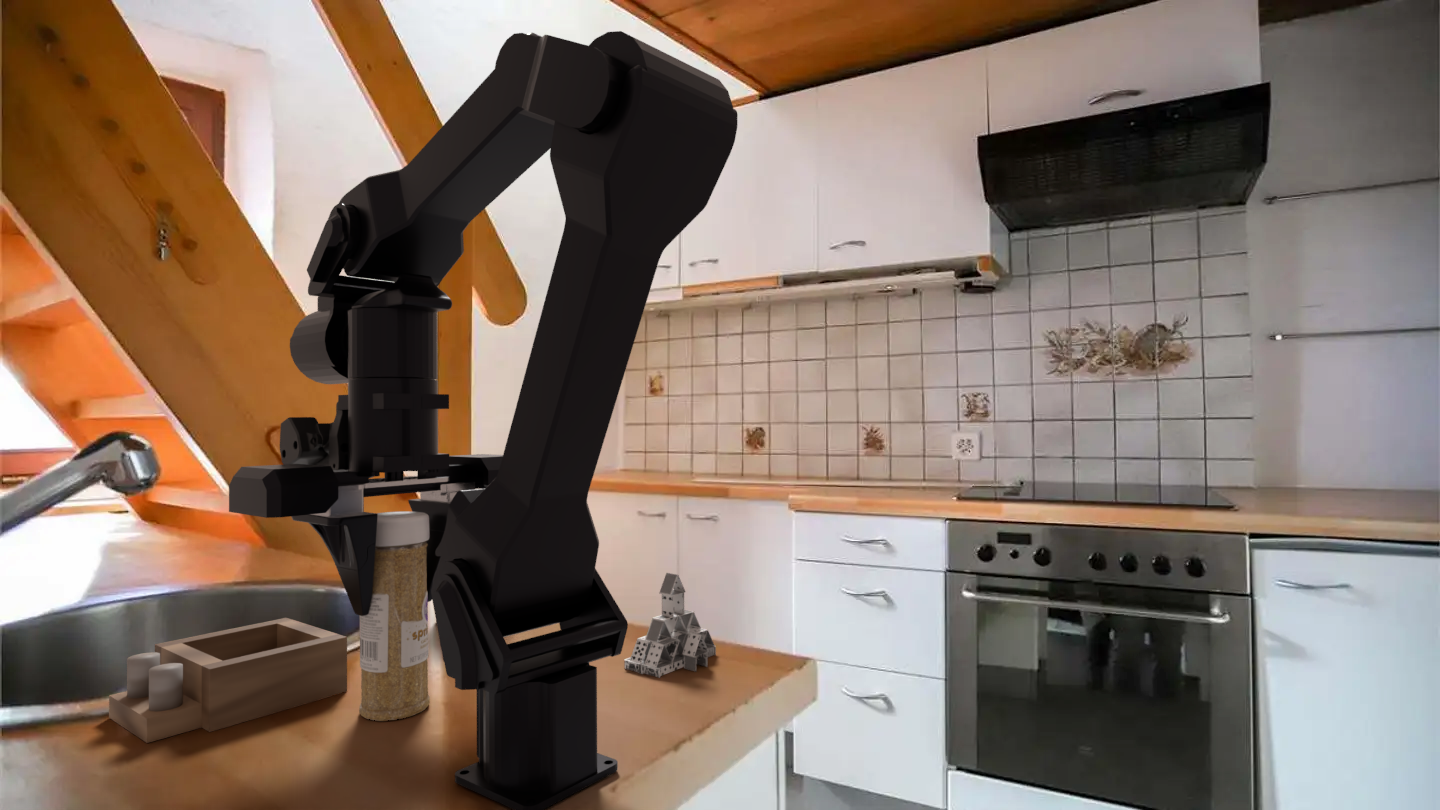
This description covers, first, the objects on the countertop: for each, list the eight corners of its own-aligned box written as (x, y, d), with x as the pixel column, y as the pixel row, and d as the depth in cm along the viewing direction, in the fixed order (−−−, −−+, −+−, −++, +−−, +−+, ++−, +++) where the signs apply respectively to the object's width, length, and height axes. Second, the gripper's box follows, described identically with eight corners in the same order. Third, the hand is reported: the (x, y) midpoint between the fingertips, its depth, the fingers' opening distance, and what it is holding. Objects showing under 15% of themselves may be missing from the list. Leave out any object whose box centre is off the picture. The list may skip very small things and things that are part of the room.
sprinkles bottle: (437, 714, 53) (436, 514, 53) (364, 729, 51) (363, 519, 51) (421, 694, 57) (420, 508, 57) (352, 707, 54) (352, 513, 55)
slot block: (347, 691, 57) (347, 636, 58) (154, 748, 48) (154, 682, 48) (286, 667, 63) (286, 617, 63) (102, 713, 54) (103, 654, 54)
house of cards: (691, 707, 55) (690, 597, 55) (605, 681, 60) (605, 581, 60) (766, 673, 62) (765, 576, 62) (683, 653, 67) (683, 563, 68)
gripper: (444, 386, 66) (444, 572, 66) (193, 379, 51) (192, 619, 51) (530, 382, 60) (531, 588, 59) (270, 373, 45) (271, 648, 44)
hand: (394, 607), depth 54 cm, fingers closed on sprinkles bottle, 4 cm apart
